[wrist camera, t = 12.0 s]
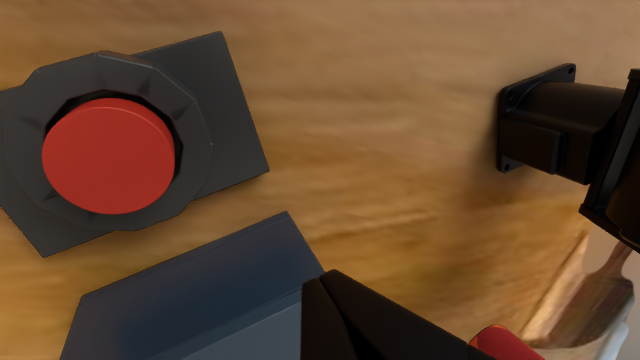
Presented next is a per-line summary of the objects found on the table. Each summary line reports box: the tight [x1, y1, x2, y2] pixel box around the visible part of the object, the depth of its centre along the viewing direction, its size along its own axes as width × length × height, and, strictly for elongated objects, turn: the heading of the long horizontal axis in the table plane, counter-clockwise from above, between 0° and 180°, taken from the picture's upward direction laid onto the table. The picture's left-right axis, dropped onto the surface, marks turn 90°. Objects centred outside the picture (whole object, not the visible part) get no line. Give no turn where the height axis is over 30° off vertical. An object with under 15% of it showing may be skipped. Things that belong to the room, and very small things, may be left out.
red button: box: [42, 98, 175, 214], centre depth 13 cm, size 4×4×2 cm
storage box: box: [59, 211, 325, 360], centre depth 19 cm, size 12×12×6 cm
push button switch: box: [0, 31, 269, 258], centre depth 14 cm, size 11×7×3 cm
